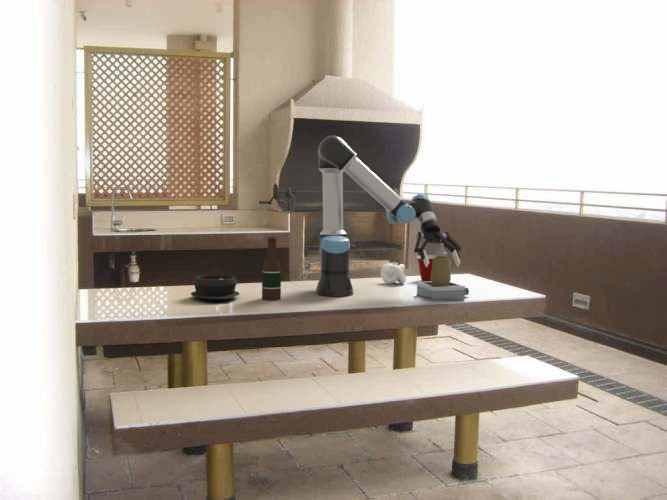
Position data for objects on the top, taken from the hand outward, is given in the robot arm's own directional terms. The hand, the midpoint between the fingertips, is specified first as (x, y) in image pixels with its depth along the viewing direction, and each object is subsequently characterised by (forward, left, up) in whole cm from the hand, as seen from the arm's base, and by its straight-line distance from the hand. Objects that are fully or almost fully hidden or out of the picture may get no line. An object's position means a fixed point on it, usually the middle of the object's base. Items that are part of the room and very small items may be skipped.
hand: (443, 264), depth 271 cm
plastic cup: (+16, +50, -14) cm, 54 cm away
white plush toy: (-4, +44, -14) cm, 46 cm away
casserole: (-89, +15, -14) cm, 91 cm away
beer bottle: (-68, +10, -14) cm, 70 cm away
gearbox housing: (+3, +2, -14) cm, 14 cm away
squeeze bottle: (0, +2, -10) cm, 10 cm away
